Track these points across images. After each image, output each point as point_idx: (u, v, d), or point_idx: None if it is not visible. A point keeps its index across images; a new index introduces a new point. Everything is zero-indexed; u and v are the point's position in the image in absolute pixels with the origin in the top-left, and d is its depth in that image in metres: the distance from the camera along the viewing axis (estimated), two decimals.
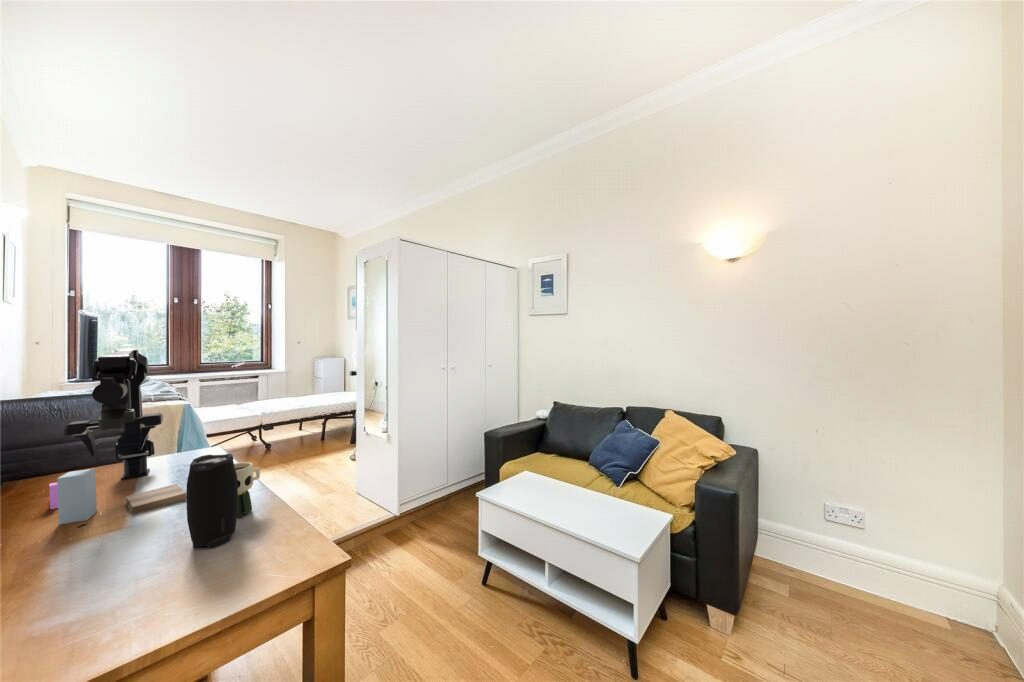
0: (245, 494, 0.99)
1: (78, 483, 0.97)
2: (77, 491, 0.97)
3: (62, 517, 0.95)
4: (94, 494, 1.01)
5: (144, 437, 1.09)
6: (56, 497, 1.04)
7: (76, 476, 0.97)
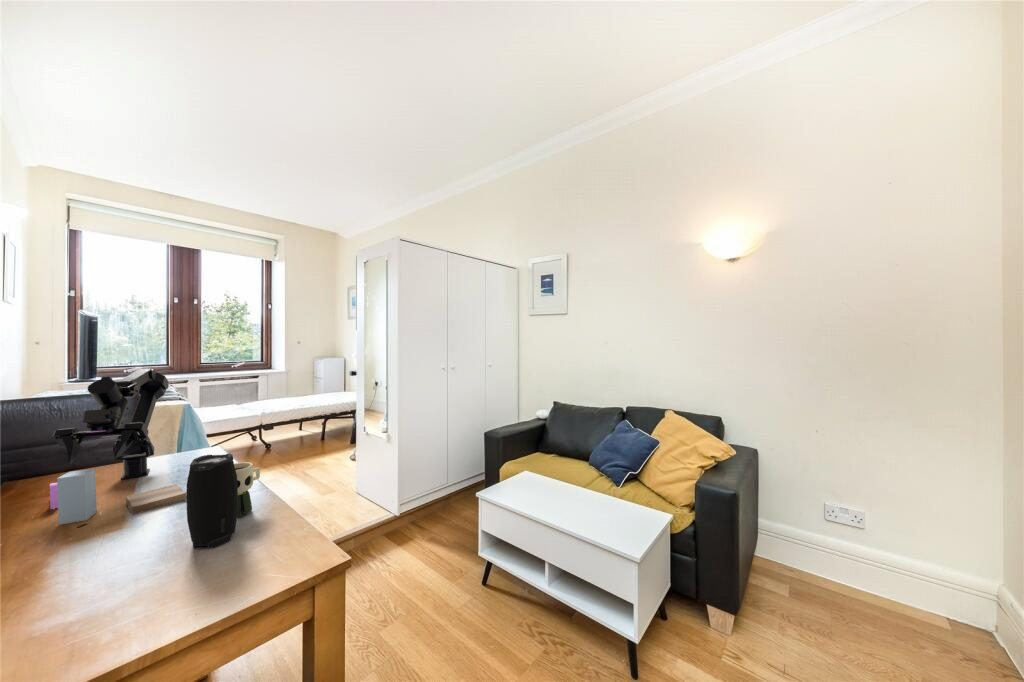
0: (245, 494, 0.99)
1: (78, 483, 0.97)
2: (77, 491, 0.97)
3: (62, 517, 0.95)
4: (94, 494, 1.01)
5: (122, 443, 1.09)
6: (56, 497, 1.04)
7: (76, 476, 0.97)
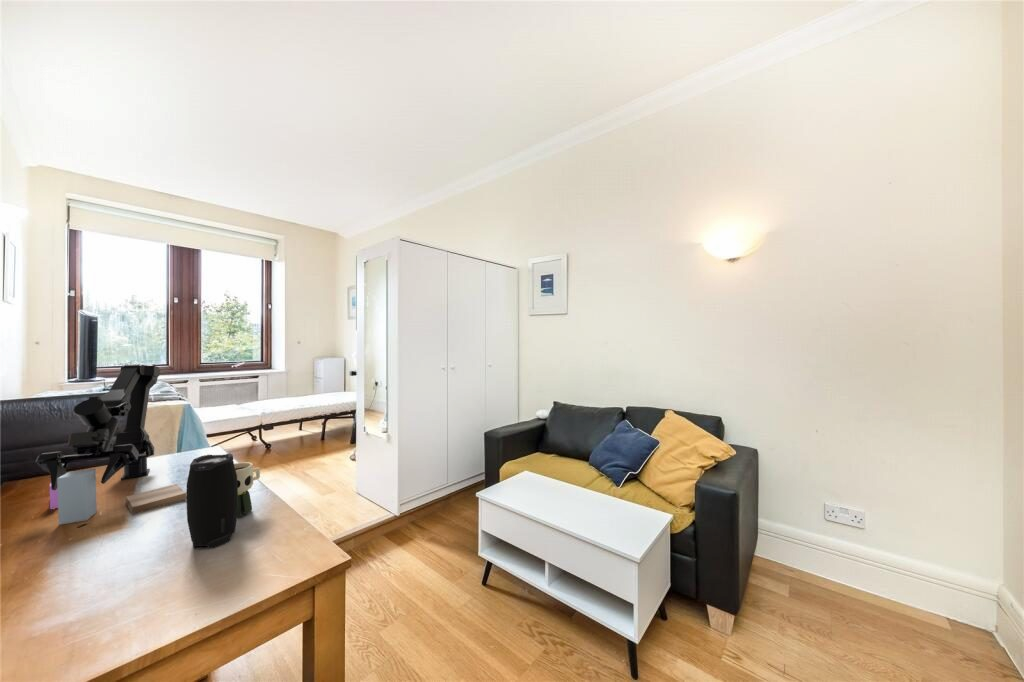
0: (245, 494, 0.99)
1: (78, 483, 0.97)
2: (77, 491, 0.97)
3: (62, 517, 0.95)
4: (94, 494, 1.01)
5: (110, 467, 1.03)
6: (56, 497, 1.04)
7: (76, 476, 0.97)
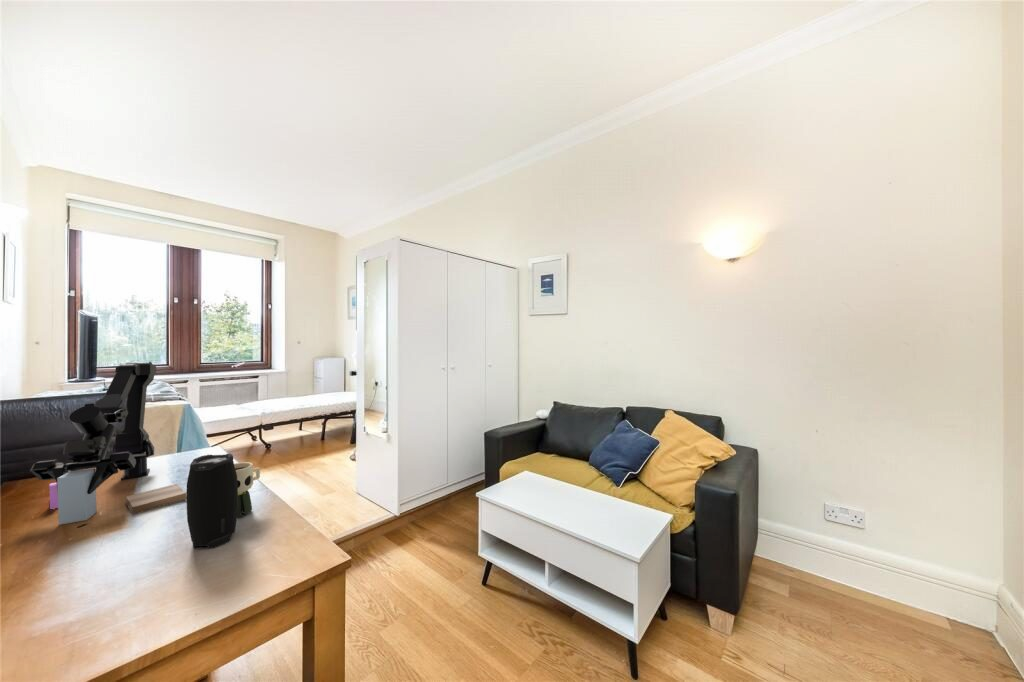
0: (245, 494, 0.99)
1: (78, 483, 0.97)
2: (77, 491, 0.97)
3: (62, 517, 0.95)
4: (94, 494, 1.01)
5: (97, 477, 1.00)
6: (56, 497, 1.04)
7: (76, 476, 0.97)
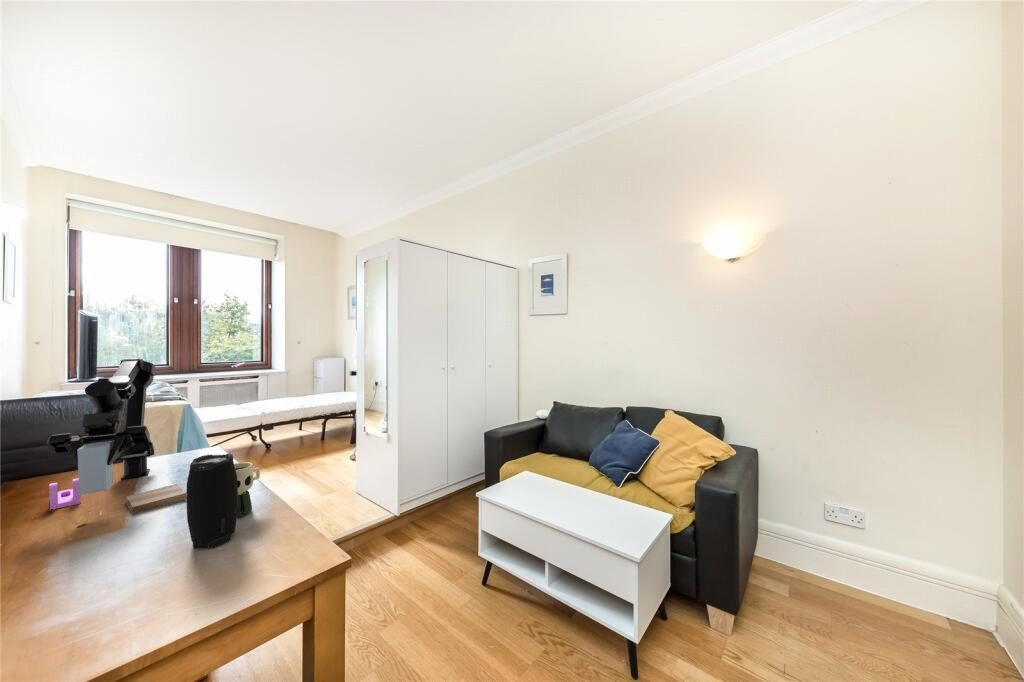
0: (245, 494, 0.99)
1: (98, 454, 0.98)
2: (97, 462, 0.98)
3: (82, 488, 0.97)
4: (111, 466, 1.03)
5: (115, 449, 1.02)
6: (56, 497, 1.04)
7: (96, 447, 0.98)
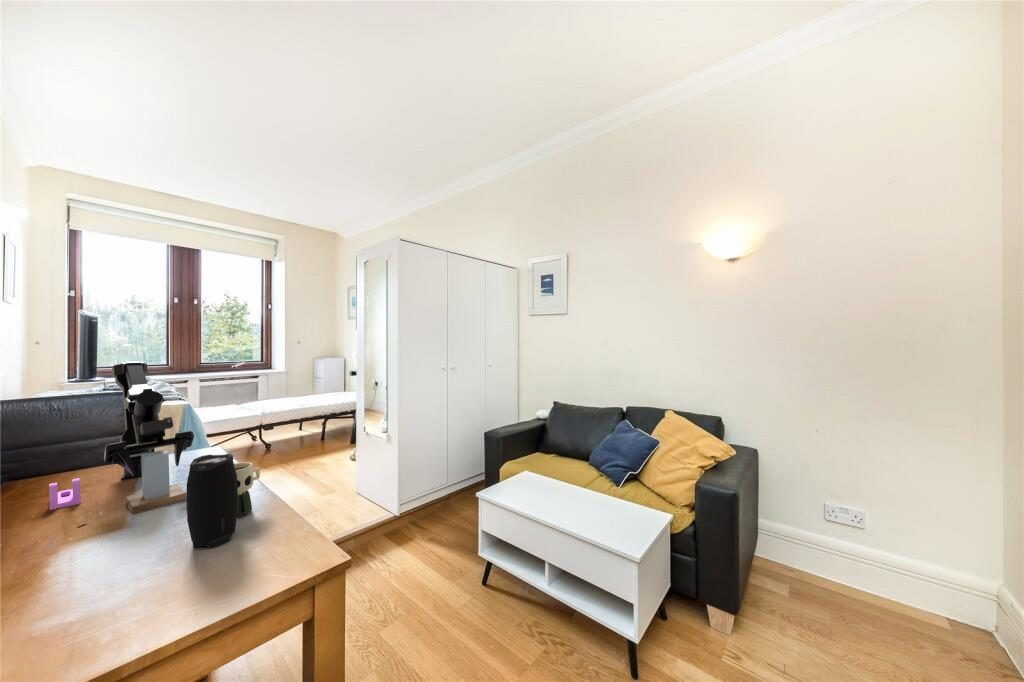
0: (245, 494, 0.99)
1: (163, 461, 1.07)
2: (162, 468, 1.07)
3: (149, 493, 1.05)
4: None
5: (180, 451, 1.12)
6: (56, 497, 1.04)
7: (161, 455, 1.07)
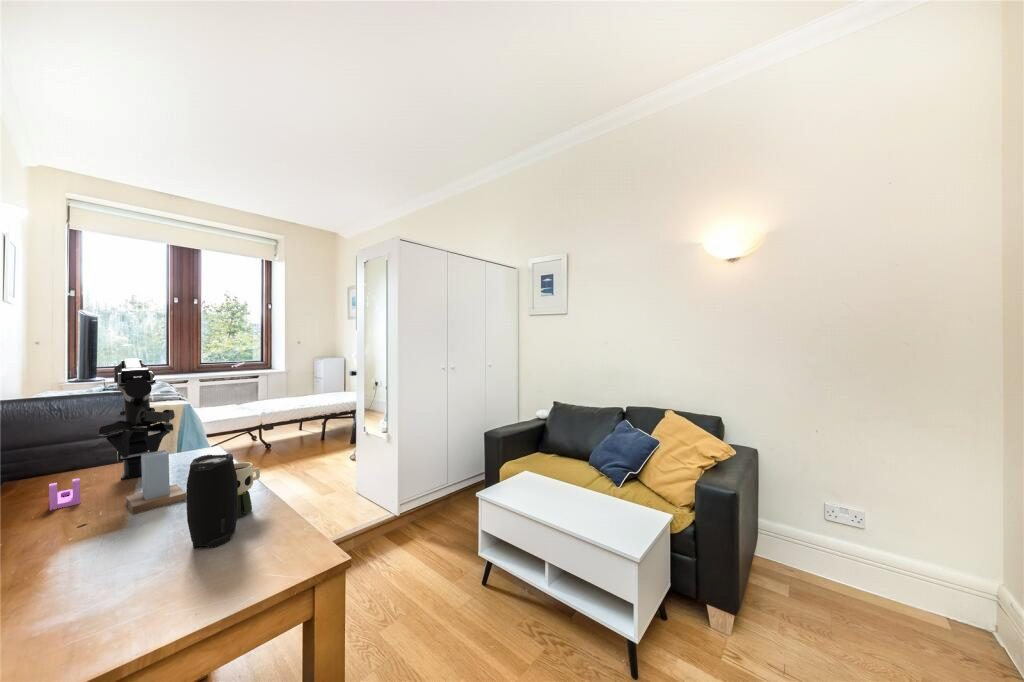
0: (245, 494, 0.99)
1: (163, 461, 1.07)
2: (162, 468, 1.07)
3: (149, 493, 1.05)
4: None
5: (159, 442, 1.19)
6: (56, 497, 1.04)
7: (161, 455, 1.07)
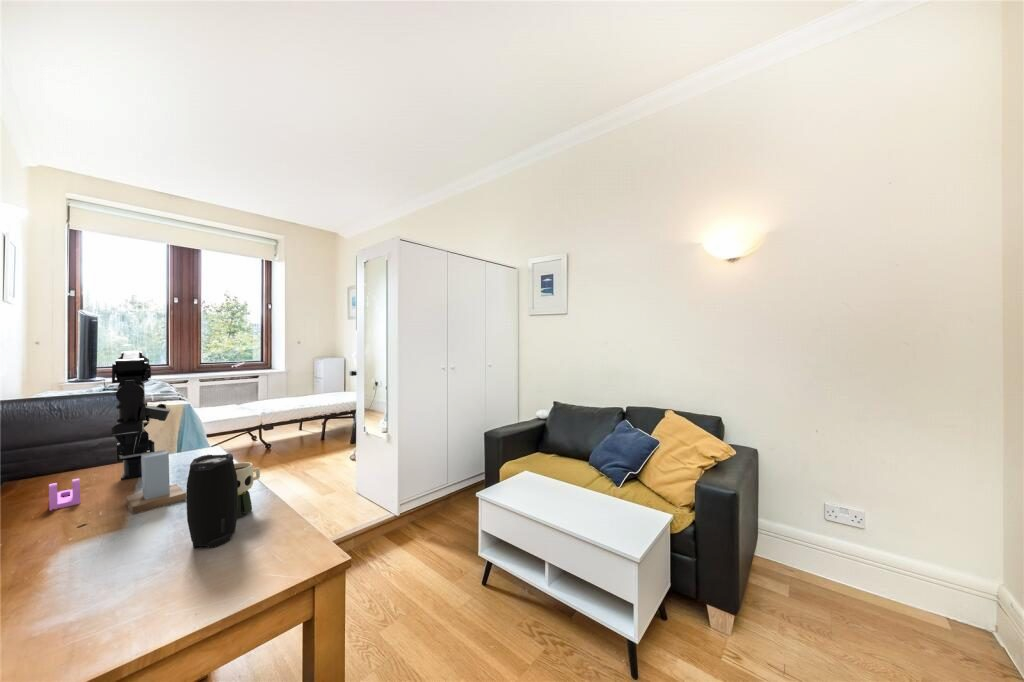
0: (245, 494, 0.99)
1: (163, 461, 1.07)
2: (162, 468, 1.07)
3: (149, 493, 1.05)
4: None
5: None
6: (56, 497, 1.04)
7: (161, 455, 1.07)
